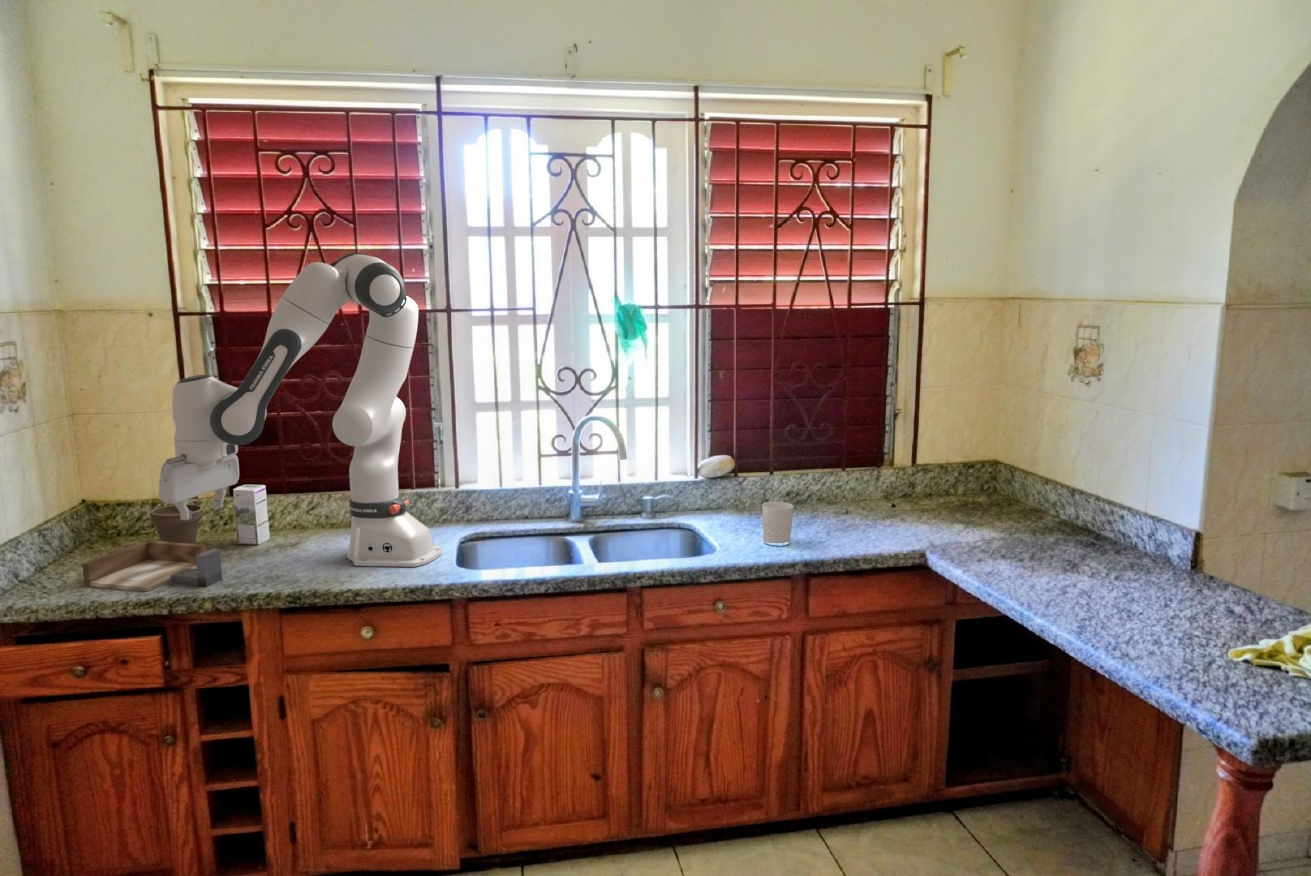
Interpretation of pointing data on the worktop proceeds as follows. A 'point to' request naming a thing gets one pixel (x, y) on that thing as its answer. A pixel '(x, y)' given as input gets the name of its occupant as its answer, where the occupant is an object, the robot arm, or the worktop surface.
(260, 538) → the syrup box
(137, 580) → the corner arena
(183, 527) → the flower pot
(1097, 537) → the worktop surface
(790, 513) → the white cup
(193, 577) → the angle bracket
